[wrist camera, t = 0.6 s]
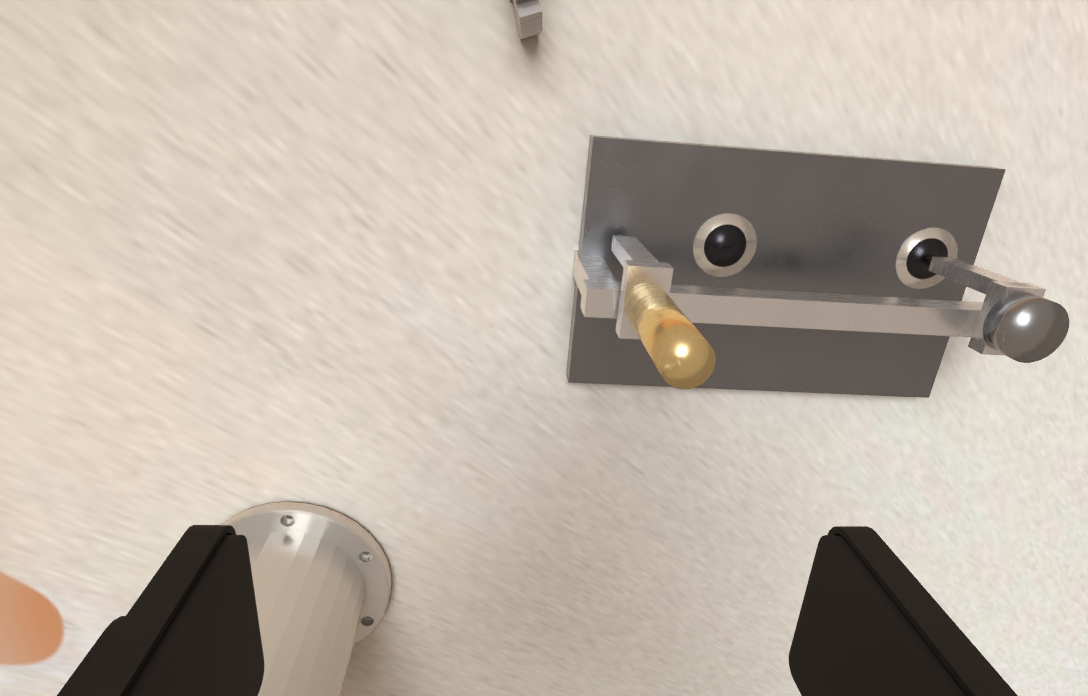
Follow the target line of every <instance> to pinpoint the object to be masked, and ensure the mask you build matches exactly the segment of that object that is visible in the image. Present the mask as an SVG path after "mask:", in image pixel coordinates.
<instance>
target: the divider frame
mask: <svg viewBox="0 0 1088 696" xmlns="http://www.w3.org/2000/svg"><path fill="white" fill-rule="evenodd" d="M924 263H925V265H926V266H929V270H928V271H931V272H933V273H936V274H938V275H940V276H943V277H945V278H948V279H950V280H952V281H955V282H957V283H960V284H962V285H965V286H967V287H969V288H972V289H974V290H977V291H979V292H981V293H984V294H986V297H985V300H984V302H983V303H982V302H965V301H948V300H931V299H913V298H896V297H879V296H862V295H844V294H827V293H810V292H793V291H775V290H758V289H741V288H724V287H706V286H689V285H672V284H671V288H670V294H669V297H670V298H671V299H672V300H673V301H674V303H675V304H676V305H677V306H678V307H679V308H680V310H681V311H682V312H683V313H684V314H685V316H686V317H687V318H688V319H689V320H690V321H691V323H710V324H729V325H748V326H767V327H786V328H805V329H824V330H843V331H863V332H882V333H901V334H920V335H939V336H958V337H971V340H970V342H969V345H968V347H970V348H972V349H974V350H975V351H977V352H979V353H981V354H989V355H1006V356H1008V357H1010V358H1012V359H1014V360H1016V361H1018V362H1023V363H1030V362H1035V361H1038V360H1041V359H1043V358H1045V357H1047V356H1049V355H1050V354H1051V353H1053V352H1054V351H1055V350H1056V349H1057V348H1058V347H1059V346H1060V345H1061V343H1062V342H1063V340H1064V339H1065V337H1066V335H1067V332H1068V328H1069V317H1068V314H1067V312H1066V310H1065V309H1064V308H1063V307H1062V306H1061V305H1060V304H1058V303H1055V302H1053V301H1050V300H1047V299H1045V298H1043V296H1044V293H1045V290H1046V289H1044V288H1041V287H1038V286H1035V285H1033V284H1030V283H1021V282H1018V281H1015V280H1012V279H1010V278H1007V277H1004V276H1002V275H999V274H996V273H993V272H991V271H988V270H985V269H982V268H980V267H977V266H974V265H971V264H969V263H966V262H963V261H960V260H958V259H955V258H948V257H939V256H936V255H934V254H930V255H928V256H927V257H926V258H925V261H924ZM573 276H574V279H575V281H576V284H577V286H578V288H579V291H580V293H581V305H580V307H581V310H582V313H583V315H584V317H595V318H614V319H617V315H618V307H619V299H620V291H621V283H622V282H620V281H617V279H616V278H615V276H614V275H613V273H612V272H611V270H610V268H609V267H608V265H607V264H606V262H605V261H604V259H603V257H587V256H581V255H580V253H579V251H575V257H574V267H573Z"/></svg>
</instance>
